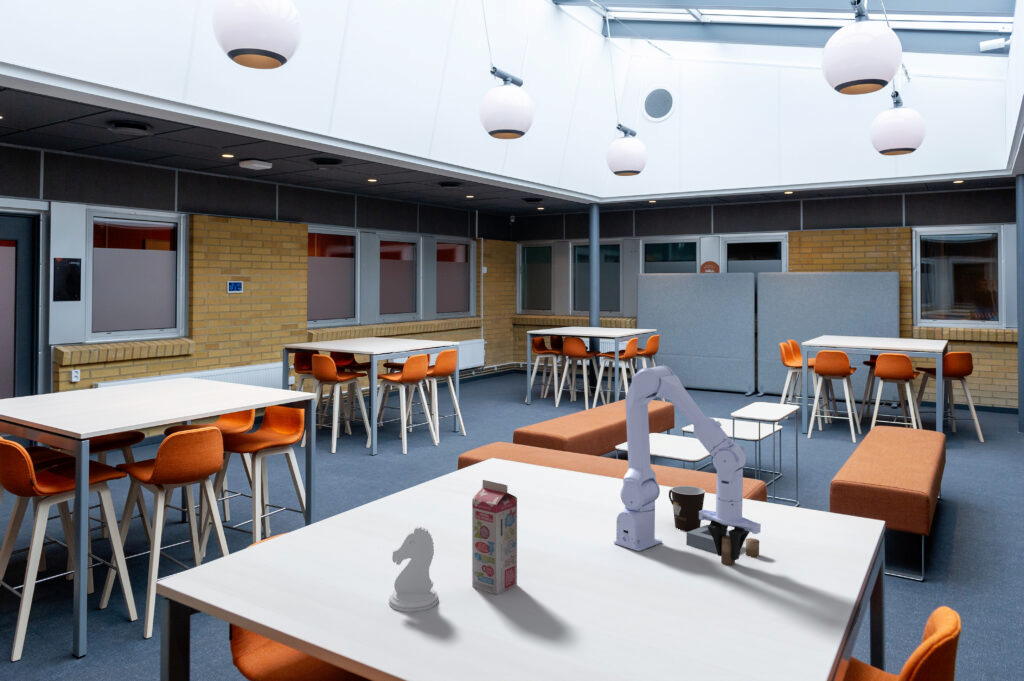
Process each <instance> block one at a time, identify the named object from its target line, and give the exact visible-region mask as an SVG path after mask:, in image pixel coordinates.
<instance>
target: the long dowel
mask: <svg viewBox="0 0 1024 681" xmlns="http://www.w3.org/2000/svg"><path fill="white" fill-rule="evenodd" d="M720 557H721V558H720V559H721V560H720V561H721V562H720V563H721V564H722V565H725V566H735V565H736V560H732V559H731V540H730V535H723V536H722V546H721V556H720Z"/></svg>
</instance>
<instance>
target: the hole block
mask: <svg viewBox="0 0 1024 681" xmlns="http://www.w3.org/2000/svg"><path fill="white" fill-rule="evenodd" d="M708 525H709V524H706V525H703V526H700V528H697V529H695V530H692V531H686V542H685V543H686V545H687V546H690V547H693V546H694V548H696V549H697V548H698V549H700V550H703V549H704V550H703V551H707V552H711V553H714V554H717V550H716V546H715V543H714V540H713V537H712V535H711V533H710V531H709V530H708ZM726 535H729V529H727V534H726Z"/></svg>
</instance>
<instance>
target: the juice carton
mask: <svg viewBox="0 0 1024 681" xmlns="http://www.w3.org/2000/svg"><path fill="white" fill-rule="evenodd" d="M508 488H509V487H508V485H507V484H504V483H501V482H500V483H499V482H495V481H492V480H491V481H490V480H486V479H482V486H481V488H480V490H478V492H476V494H475V495H474V496H473V497H472V498H471V499H472V506H471V507H472V508H471V509H472V512H471V513H472V515H471V520H472V521H471V523H472V526H471V527H472V528H471V529H472V530H471V534H472V535H471V536H472V537H471V540H472V541H471V542H472V543H471V544H472V545H471V546H472V547H471V548H472V550H471V552H472V553H471V554H472V558H471V559H472V561H471V562H472V563H471V564H472V567H471V568H472V569H471V570H472V571H471V572H472V574H471V576H472V577H471V580H472V581H471V582H472V584H471V585H472V588H475V589H477V590H481V591H484V592H486V593H490V594H492V595H496V596H497V595H499V594H502V593H503V592H505V591H508V590H509V589H511V588H514V587H516V586H517V585H518V497H517V496H516V495H513V494H511V493H509V492H508Z"/></svg>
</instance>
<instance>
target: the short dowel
mask: <svg viewBox="0 0 1024 681" xmlns="http://www.w3.org/2000/svg"><path fill="white" fill-rule="evenodd" d="M745 556H747V557H749V556H751V557H750V558H758V557H757V556H760V540H759V539H757V538H752V537H749V538H748V537H747V538H746V539H745Z"/></svg>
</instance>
